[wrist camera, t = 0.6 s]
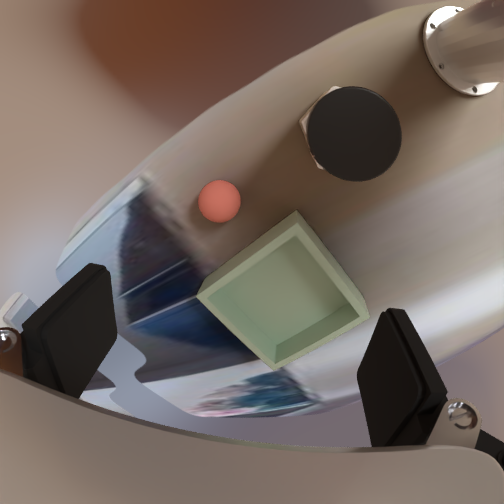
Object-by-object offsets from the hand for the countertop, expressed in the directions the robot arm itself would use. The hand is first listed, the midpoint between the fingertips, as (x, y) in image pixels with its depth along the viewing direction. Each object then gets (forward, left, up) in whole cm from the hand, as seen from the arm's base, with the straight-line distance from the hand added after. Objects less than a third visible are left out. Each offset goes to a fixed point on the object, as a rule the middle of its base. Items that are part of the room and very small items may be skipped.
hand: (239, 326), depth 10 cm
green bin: (+9, +13, -30) cm, 34 cm away
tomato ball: (+7, -2, -27) cm, 28 cm away
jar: (-9, 0, -30) cm, 31 cm away
